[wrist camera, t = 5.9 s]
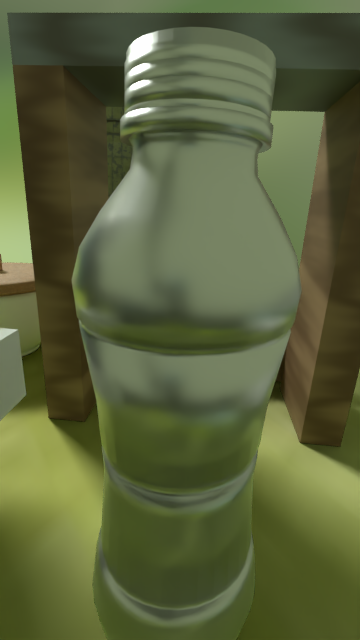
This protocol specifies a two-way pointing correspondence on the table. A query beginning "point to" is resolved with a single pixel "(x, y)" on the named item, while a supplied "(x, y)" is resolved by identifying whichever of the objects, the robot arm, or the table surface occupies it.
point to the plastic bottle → (185, 335)
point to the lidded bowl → (20, 304)
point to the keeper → (92, 187)
